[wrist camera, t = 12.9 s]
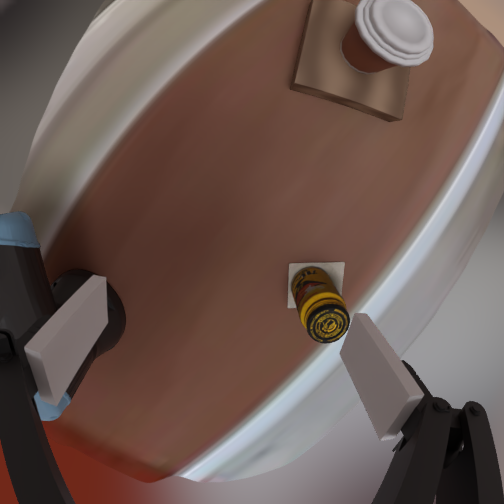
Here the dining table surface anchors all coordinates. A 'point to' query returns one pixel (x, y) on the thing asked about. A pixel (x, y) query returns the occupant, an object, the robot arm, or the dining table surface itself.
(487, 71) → the dining table surface
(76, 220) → the dining table surface
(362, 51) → the coffee cup
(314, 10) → the base slab
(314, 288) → the condiment
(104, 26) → the dining table surface
